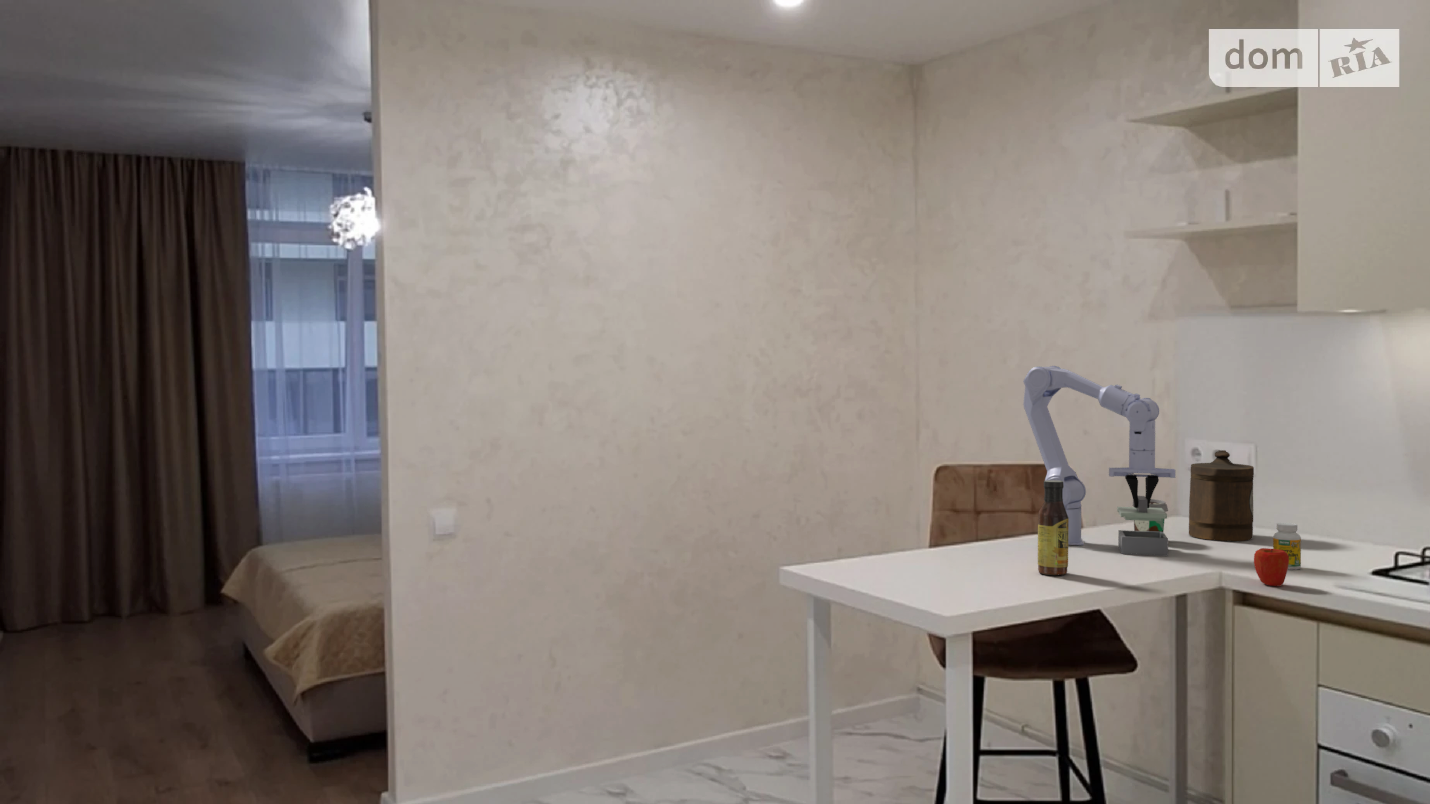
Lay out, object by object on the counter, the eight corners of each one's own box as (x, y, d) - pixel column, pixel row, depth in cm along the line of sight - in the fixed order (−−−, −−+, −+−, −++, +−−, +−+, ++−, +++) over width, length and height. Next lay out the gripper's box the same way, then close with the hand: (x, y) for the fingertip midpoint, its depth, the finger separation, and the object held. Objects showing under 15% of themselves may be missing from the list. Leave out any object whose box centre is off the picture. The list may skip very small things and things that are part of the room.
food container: (1175, 545, 269) (1176, 504, 268) (1150, 545, 269) (1150, 504, 268) (1156, 537, 281) (1157, 497, 280) (1132, 537, 281) (1132, 498, 281)
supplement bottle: (1298, 566, 242) (1298, 522, 242) (1303, 570, 237) (1303, 526, 237) (1270, 564, 244) (1271, 521, 243) (1275, 569, 239) (1275, 525, 238)
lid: (1120, 520, 257) (1121, 500, 257) (1117, 514, 267) (1117, 494, 267) (1166, 522, 255) (1167, 501, 254) (1161, 515, 264) (1161, 495, 264)
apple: (1246, 583, 225) (1247, 547, 224) (1268, 580, 227) (1268, 544, 227) (1273, 589, 219) (1274, 552, 219) (1295, 586, 222) (1296, 549, 221)
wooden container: (1266, 539, 276) (1267, 451, 275) (1217, 543, 272) (1218, 453, 271) (1223, 530, 290) (1224, 447, 289) (1175, 533, 286) (1176, 448, 285)
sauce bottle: (1063, 577, 232) (1064, 483, 231) (1033, 574, 235) (1034, 481, 234) (1071, 572, 237) (1072, 480, 237) (1042, 569, 241) (1042, 478, 240)
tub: (1121, 554, 258) (1121, 537, 258) (1118, 546, 268) (1118, 530, 267) (1167, 555, 255) (1168, 538, 255) (1162, 548, 265) (1162, 531, 265)
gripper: (1110, 451, 258) (1110, 508, 259) (1177, 452, 254) (1176, 510, 255) (1108, 448, 265) (1107, 504, 266) (1173, 449, 261) (1172, 506, 262)
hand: (1141, 507), depth 261 cm, fingers closed on lid
